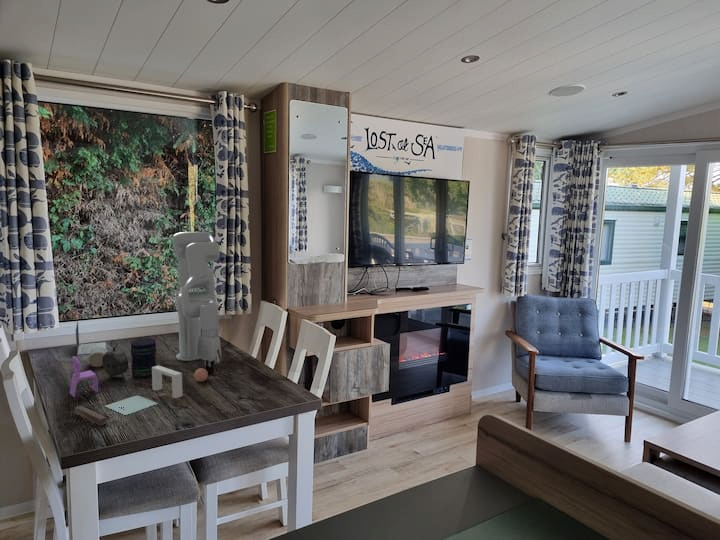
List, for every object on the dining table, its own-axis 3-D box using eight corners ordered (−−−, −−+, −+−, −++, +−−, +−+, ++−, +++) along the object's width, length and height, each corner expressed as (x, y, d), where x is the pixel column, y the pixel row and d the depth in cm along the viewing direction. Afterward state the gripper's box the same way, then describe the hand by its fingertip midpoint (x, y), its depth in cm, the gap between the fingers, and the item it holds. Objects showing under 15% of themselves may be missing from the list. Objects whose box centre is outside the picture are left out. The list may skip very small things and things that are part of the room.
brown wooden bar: (81, 412, 177) (80, 405, 177) (106, 424, 168) (106, 417, 168) (75, 414, 175) (74, 407, 175) (100, 426, 167) (100, 419, 166)
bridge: (159, 387, 202) (158, 365, 201) (182, 396, 194) (181, 373, 193) (152, 389, 199) (151, 367, 198) (175, 398, 192) (175, 375, 190)
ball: (202, 377, 214) (201, 365, 213) (211, 380, 211) (210, 367, 210) (191, 382, 210) (190, 369, 208) (200, 385, 206) (199, 372, 205)
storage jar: (151, 370, 222) (150, 337, 220) (160, 376, 215) (159, 342, 213) (128, 375, 215) (126, 341, 213) (137, 381, 208) (135, 346, 206)
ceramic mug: (88, 369, 221) (88, 352, 220) (90, 363, 229) (89, 346, 228) (115, 366, 226) (115, 350, 225) (116, 361, 233) (115, 345, 232)
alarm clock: (129, 378, 211) (128, 340, 209) (118, 382, 207) (117, 343, 204) (111, 373, 216) (109, 337, 214) (100, 377, 211) (98, 340, 209)
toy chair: (99, 393, 195) (98, 355, 193) (74, 399, 189) (72, 360, 187) (92, 387, 201) (90, 350, 199) (68, 392, 195) (66, 355, 192)
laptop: (106, 353, 245) (105, 327, 243) (76, 356, 239) (75, 329, 238) (105, 343, 261) (104, 318, 259) (78, 346, 255) (76, 320, 254)
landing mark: (137, 395, 193) (137, 395, 193) (158, 403, 186) (158, 403, 186) (104, 406, 183) (104, 406, 182) (125, 415, 175) (125, 415, 175)
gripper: (189, 331, 212) (190, 373, 214) (214, 337, 204) (215, 380, 206) (203, 328, 218) (204, 369, 220) (228, 333, 210) (229, 375, 213)
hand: (209, 374), depth 213 cm, fingers closed
